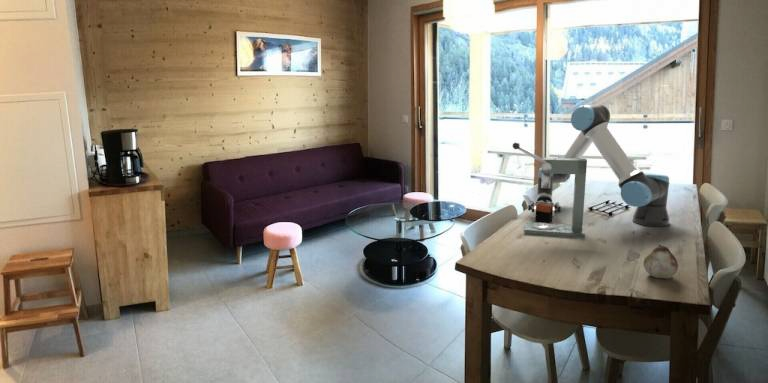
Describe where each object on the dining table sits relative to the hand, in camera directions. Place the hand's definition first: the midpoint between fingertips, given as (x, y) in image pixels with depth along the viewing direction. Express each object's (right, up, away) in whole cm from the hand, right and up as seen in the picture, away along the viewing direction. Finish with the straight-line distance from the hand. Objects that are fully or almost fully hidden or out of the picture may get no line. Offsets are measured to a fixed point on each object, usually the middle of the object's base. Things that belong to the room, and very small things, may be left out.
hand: (544, 212), depth 228 cm
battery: (+2, -5, +6) cm, 8 cm away
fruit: (+19, -19, -62) cm, 67 cm away
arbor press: (-2, -8, -9) cm, 12 cm away
